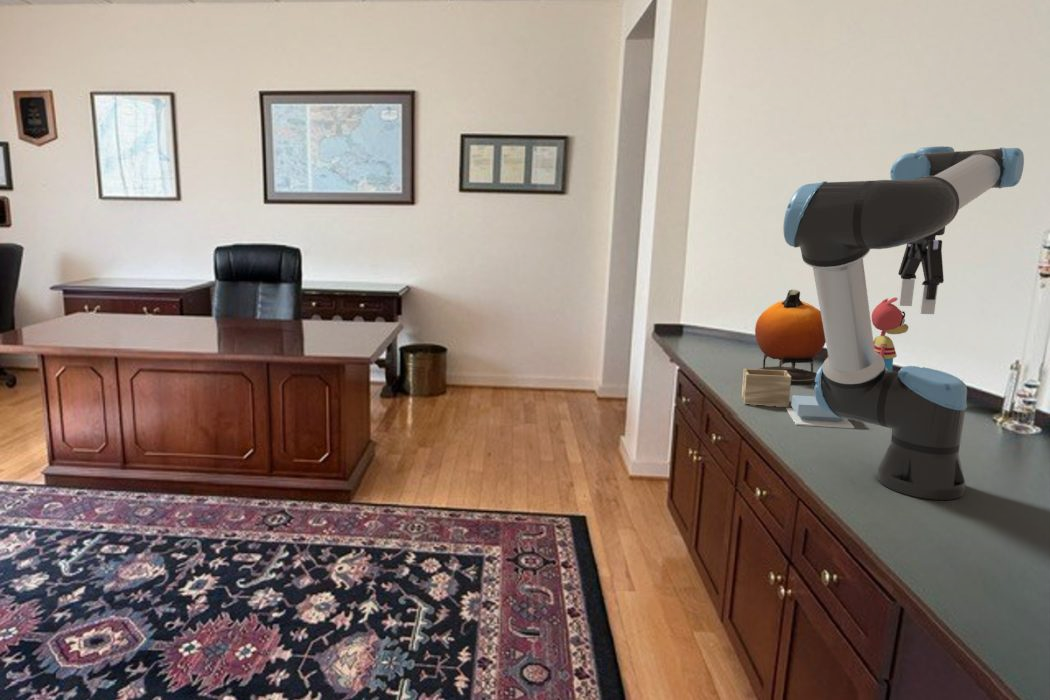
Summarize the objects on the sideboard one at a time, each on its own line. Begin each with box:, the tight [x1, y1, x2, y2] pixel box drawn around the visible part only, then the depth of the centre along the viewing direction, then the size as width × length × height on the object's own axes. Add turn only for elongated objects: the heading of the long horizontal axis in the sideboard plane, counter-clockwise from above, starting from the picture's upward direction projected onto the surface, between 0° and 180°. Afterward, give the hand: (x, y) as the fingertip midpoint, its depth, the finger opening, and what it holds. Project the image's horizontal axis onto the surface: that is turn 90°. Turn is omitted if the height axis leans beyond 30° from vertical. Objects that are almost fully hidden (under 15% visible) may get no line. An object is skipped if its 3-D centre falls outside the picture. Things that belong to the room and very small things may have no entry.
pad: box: [785, 407, 855, 429], centre depth 171 cm, size 14×14×1 cm
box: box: [741, 368, 792, 408], centre depth 185 cm, size 8×12×9 cm, turn 78°
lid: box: [791, 395, 841, 421], centre depth 171 cm, size 9×13×4 cm
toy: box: [871, 297, 909, 371], centre depth 190 cm, size 15×10×30 cm
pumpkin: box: [754, 289, 826, 386], centre depth 212 cm, size 22×22×30 cm
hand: (915, 309), depth 150 cm, fingers open, 13 cm apart
